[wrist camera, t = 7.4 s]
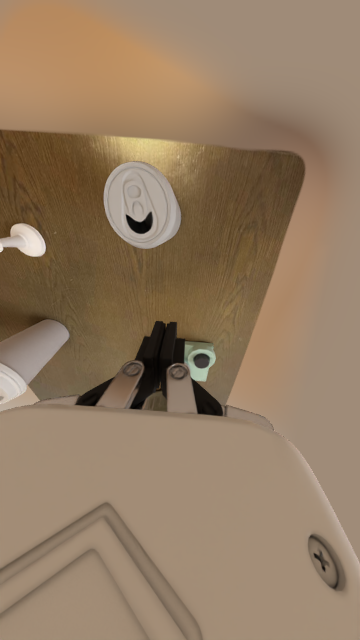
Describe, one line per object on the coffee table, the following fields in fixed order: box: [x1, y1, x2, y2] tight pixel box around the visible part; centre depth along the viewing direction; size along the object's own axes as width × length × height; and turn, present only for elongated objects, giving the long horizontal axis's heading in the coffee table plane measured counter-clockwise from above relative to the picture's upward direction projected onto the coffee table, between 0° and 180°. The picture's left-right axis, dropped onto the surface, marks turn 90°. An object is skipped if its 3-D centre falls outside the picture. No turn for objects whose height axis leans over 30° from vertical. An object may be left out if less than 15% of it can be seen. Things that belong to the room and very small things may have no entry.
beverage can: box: [104, 161, 181, 249], centre depth 18 cm, size 6×6×12 cm
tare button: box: [194, 353, 209, 369], centre depth 33 cm, size 3×3×2 cm
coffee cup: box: [0, 319, 69, 404], centre depth 29 cm, size 10×10×15 cm
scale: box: [184, 341, 216, 381], centre depth 37 cm, size 14×12×3 cm
